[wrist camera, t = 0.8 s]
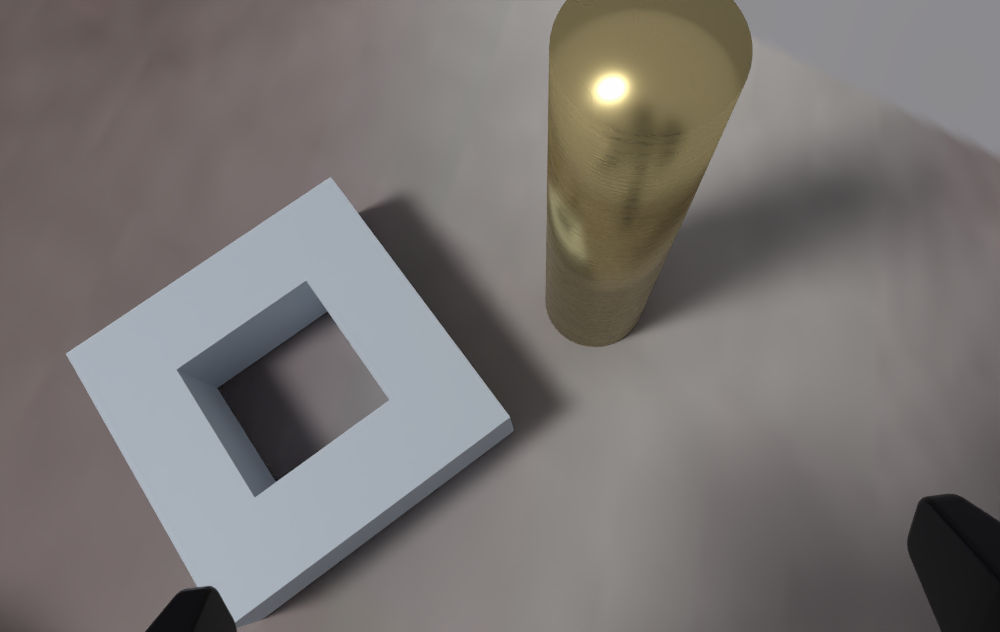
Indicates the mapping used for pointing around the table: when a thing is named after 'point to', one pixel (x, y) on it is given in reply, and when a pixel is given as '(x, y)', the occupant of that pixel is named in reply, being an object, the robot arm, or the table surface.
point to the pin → (630, 147)
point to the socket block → (222, 441)
